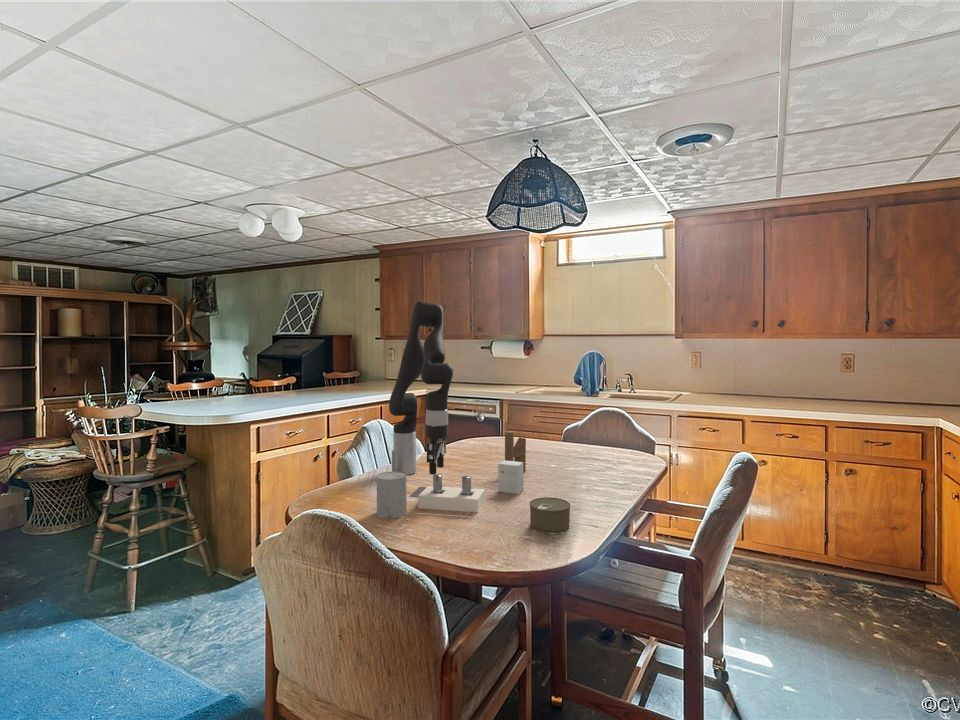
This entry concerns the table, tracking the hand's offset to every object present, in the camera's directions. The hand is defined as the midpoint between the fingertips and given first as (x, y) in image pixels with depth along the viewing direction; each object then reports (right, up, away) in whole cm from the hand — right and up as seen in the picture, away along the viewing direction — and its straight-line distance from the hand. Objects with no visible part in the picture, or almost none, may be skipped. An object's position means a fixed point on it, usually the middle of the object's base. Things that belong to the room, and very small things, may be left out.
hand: (436, 470), depth 166 cm
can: (+35, -13, -19) cm, 42 cm away
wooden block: (+29, -10, +39) cm, 50 cm away
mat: (-2, -11, +12) cm, 17 cm away
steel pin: (0, -12, 0) cm, 12 cm away
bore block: (+5, -12, -1) cm, 13 cm away
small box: (+26, -11, +15) cm, 32 cm away
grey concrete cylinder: (-14, -12, -8) cm, 20 cm away
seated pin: (+10, -12, -2) cm, 15 cm away
